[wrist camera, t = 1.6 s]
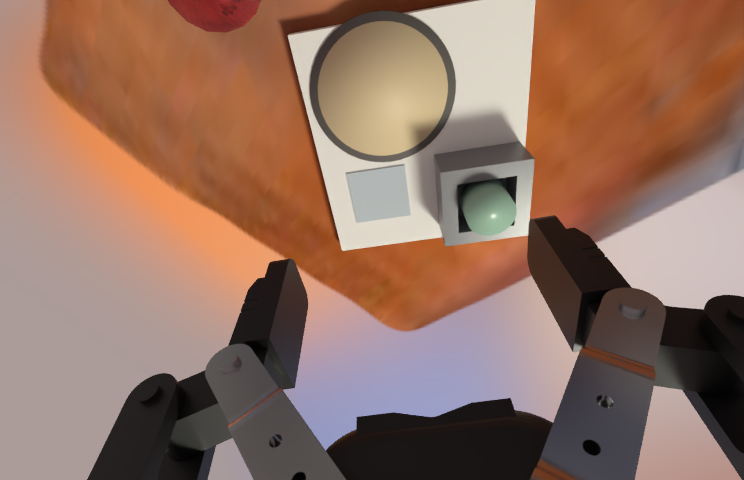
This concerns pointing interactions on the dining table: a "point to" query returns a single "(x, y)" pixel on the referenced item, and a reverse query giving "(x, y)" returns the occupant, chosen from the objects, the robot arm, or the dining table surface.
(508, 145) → the button housing
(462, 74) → the picture board
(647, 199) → the dining table surface
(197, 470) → the robot arm
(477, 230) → the button
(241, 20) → the onion
